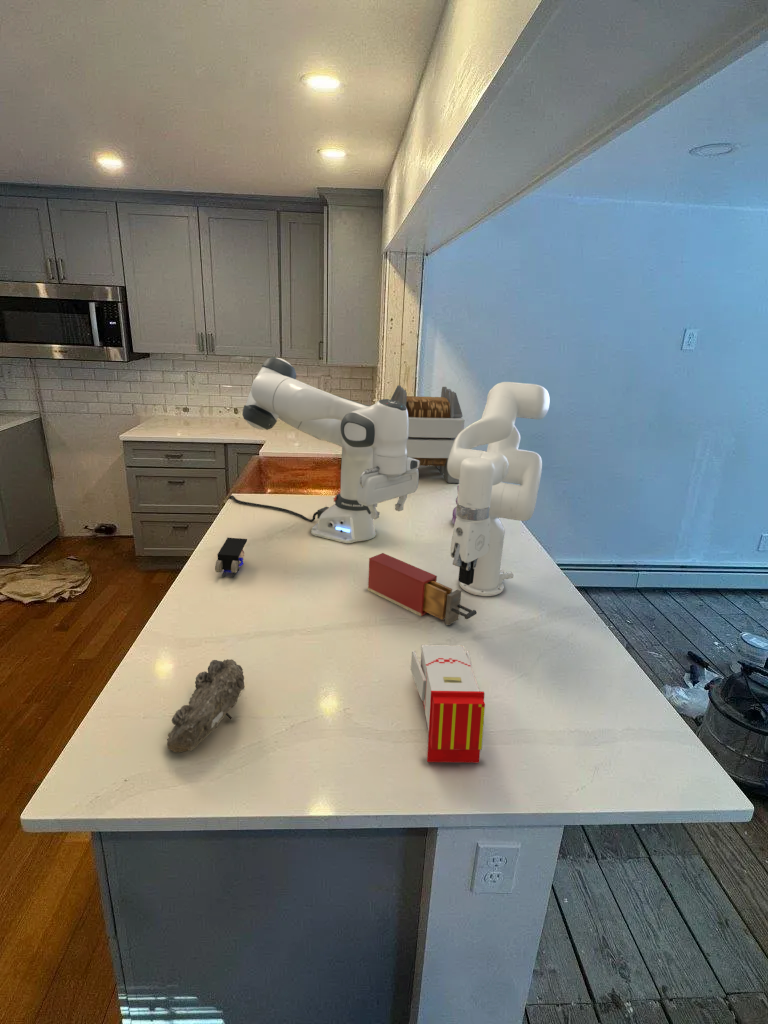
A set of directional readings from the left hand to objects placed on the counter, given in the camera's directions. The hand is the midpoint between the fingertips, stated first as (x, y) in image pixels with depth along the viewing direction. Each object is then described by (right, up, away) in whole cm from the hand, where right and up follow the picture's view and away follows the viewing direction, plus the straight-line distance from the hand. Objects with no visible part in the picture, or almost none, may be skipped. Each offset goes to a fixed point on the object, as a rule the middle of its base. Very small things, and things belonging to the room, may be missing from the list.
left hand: (387, 514), depth 151 cm
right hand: (+19, -16, -14) cm, 29 cm away
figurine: (+28, -4, +61) cm, 67 cm away
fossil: (-34, -39, -43) cm, 67 cm away
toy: (+11, -39, -39) cm, 56 cm away
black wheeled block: (-46, -16, +17) cm, 51 cm away
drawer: (+12, -26, -4) cm, 28 cm away
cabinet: (+4, -23, +4) cm, 24 cm away
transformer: (+16, +19, +124) cm, 127 cm away
